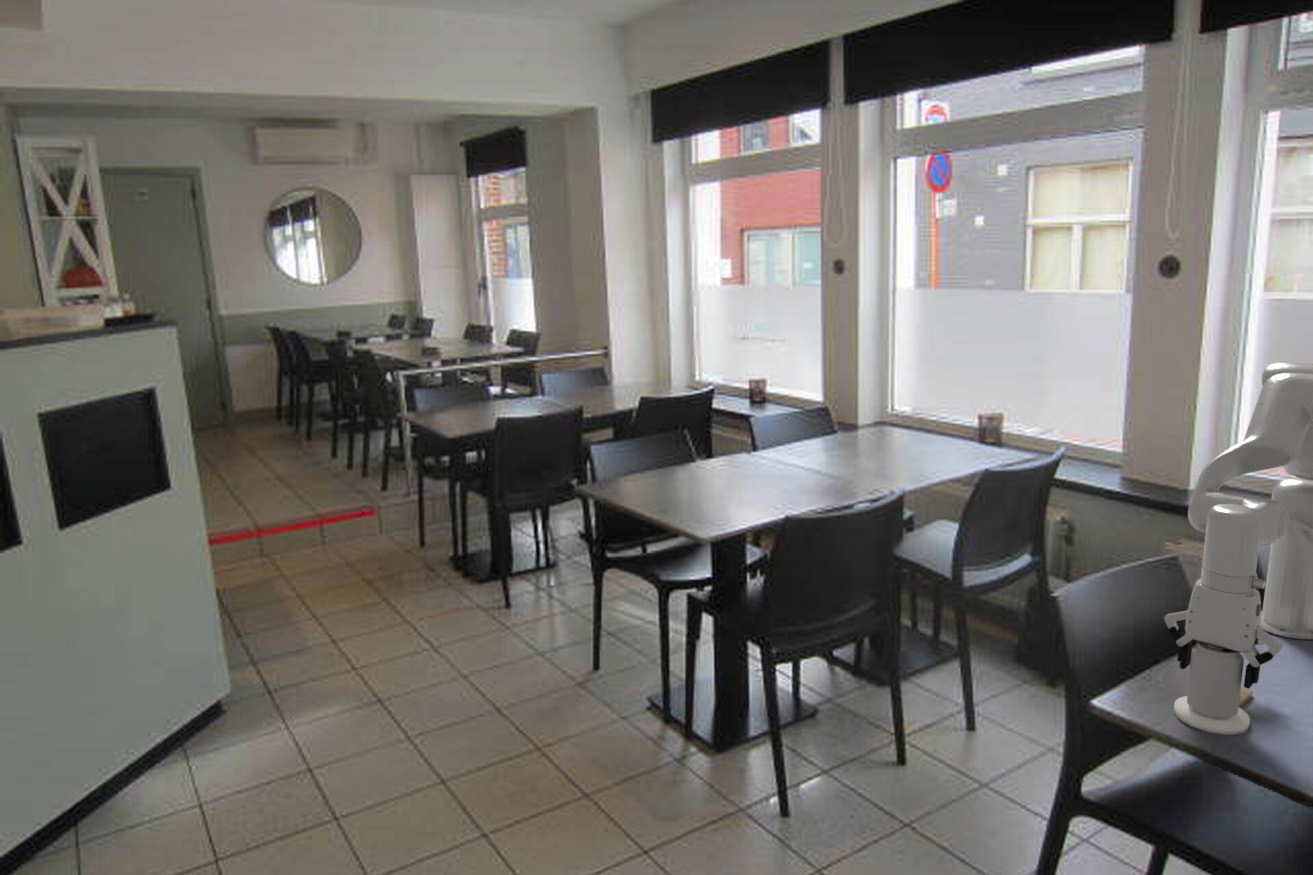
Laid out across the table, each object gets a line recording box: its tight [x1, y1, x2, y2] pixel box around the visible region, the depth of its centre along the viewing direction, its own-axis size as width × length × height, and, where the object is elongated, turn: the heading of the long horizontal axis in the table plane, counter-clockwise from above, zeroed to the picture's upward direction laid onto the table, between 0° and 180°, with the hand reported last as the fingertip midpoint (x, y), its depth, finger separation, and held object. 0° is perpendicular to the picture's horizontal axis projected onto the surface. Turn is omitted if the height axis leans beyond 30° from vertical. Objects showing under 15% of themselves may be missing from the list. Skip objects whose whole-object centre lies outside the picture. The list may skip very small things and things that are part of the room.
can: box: [1186, 641, 1245, 719], centre depth 155 cm, size 8×8×12 cm
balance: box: [1239, 640, 1265, 708], centre depth 162 cm, size 14×6×14 cm, turn 133°
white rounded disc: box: [1173, 695, 1251, 736], centre depth 156 cm, size 11×11×1 cm
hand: (1216, 675), depth 155 cm, fingers open, 9 cm apart
